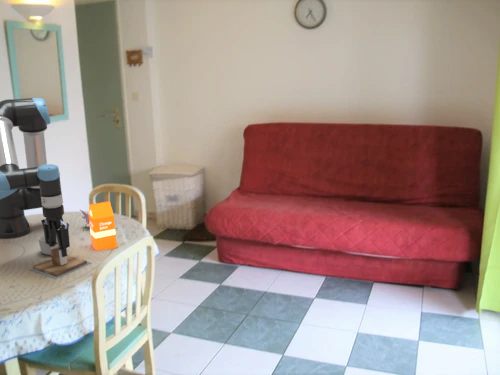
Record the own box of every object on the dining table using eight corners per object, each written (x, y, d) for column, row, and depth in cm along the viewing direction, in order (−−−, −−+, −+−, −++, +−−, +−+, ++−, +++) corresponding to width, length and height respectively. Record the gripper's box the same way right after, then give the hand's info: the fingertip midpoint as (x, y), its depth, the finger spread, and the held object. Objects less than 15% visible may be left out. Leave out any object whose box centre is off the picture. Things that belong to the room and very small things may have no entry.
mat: (28, 271, 195) (27, 269, 195) (64, 256, 209) (64, 254, 208) (56, 280, 186) (55, 279, 186) (92, 264, 200) (92, 263, 200)
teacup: (58, 258, 206) (56, 240, 204) (34, 257, 208) (32, 239, 206) (76, 246, 219) (74, 229, 217) (54, 245, 221) (51, 228, 219)
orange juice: (117, 247, 217) (112, 203, 212) (96, 252, 212) (91, 206, 207) (111, 242, 223) (107, 199, 218) (91, 246, 219) (86, 202, 214)
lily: (100, 234, 236) (106, 215, 238) (75, 228, 231) (81, 208, 233) (96, 235, 247) (101, 216, 249) (71, 229, 242) (77, 210, 244)
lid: (33, 269, 195) (31, 251, 193) (63, 256, 206) (61, 240, 205) (56, 276, 188) (54, 258, 186) (86, 263, 199) (84, 246, 197)
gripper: (30, 205, 192) (38, 261, 198) (58, 211, 183) (66, 270, 189) (47, 200, 198) (54, 255, 204) (75, 206, 189) (82, 263, 195)
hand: (60, 262), depth 197 cm, fingers closed on lid, 4 cm apart
